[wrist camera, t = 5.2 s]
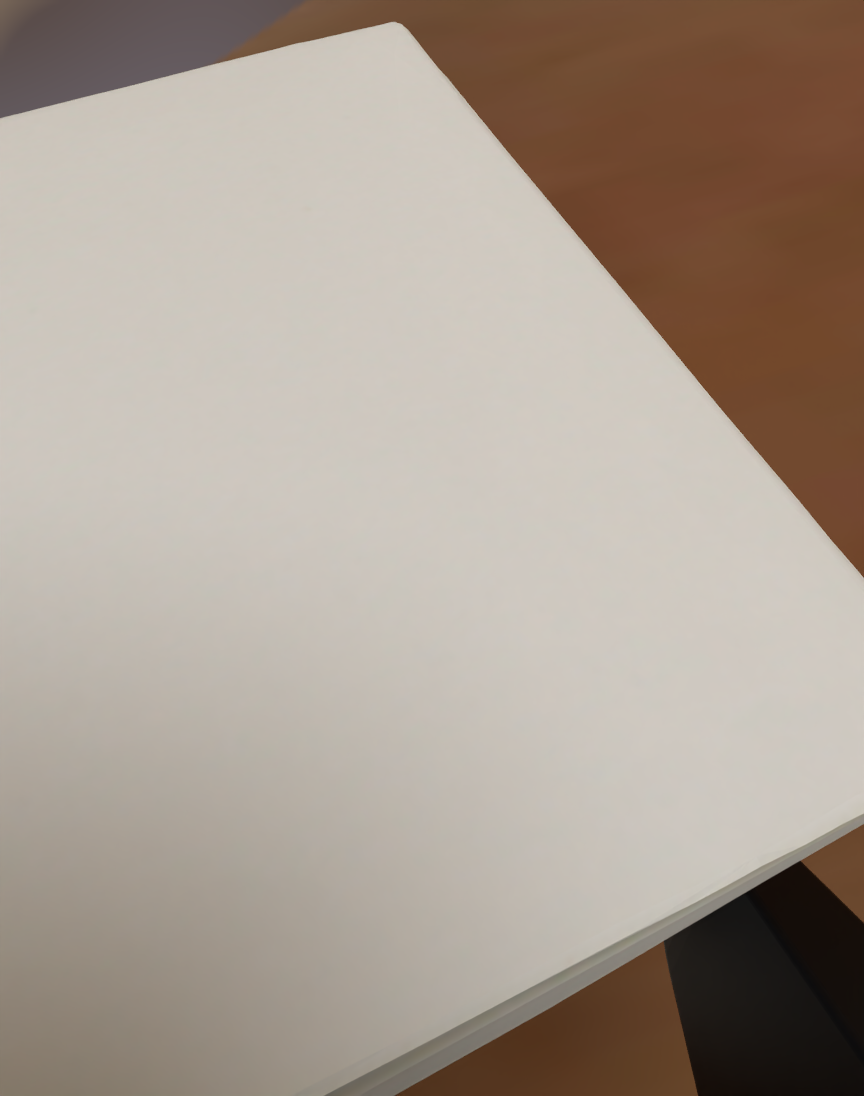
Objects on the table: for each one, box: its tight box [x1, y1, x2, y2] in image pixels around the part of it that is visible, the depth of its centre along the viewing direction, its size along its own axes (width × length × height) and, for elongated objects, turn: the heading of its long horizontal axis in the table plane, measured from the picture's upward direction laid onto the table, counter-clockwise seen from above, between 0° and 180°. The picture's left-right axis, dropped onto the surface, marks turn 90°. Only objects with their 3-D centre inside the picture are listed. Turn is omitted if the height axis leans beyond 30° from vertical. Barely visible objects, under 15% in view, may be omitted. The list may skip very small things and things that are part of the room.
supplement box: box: [0, 22, 864, 1096], centre depth 10 cm, size 7×7×13 cm
